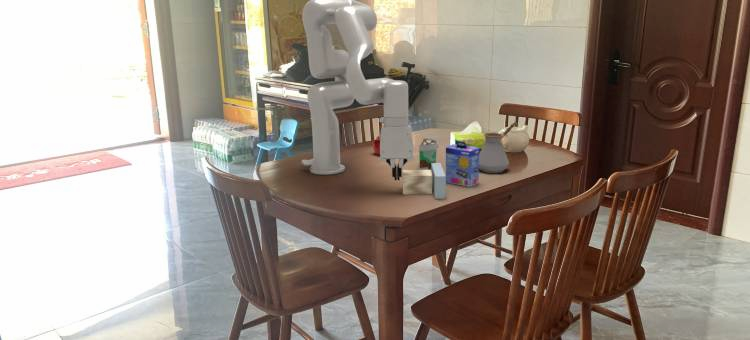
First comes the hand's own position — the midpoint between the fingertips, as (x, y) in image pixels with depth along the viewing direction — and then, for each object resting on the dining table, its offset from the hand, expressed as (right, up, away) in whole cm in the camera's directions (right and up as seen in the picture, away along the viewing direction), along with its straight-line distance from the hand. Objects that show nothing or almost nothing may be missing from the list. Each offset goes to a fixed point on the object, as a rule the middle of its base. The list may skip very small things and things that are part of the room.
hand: (396, 179), depth 182 cm
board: (+13, -4, +1) cm, 14 cm away
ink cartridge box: (+22, -2, +8) cm, 23 cm away
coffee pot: (+38, +3, +26) cm, 46 cm away
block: (+6, -4, +2) cm, 8 cm away
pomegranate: (-3, +9, +50) cm, 51 cm away
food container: (+13, +3, +27) cm, 30 cm away
